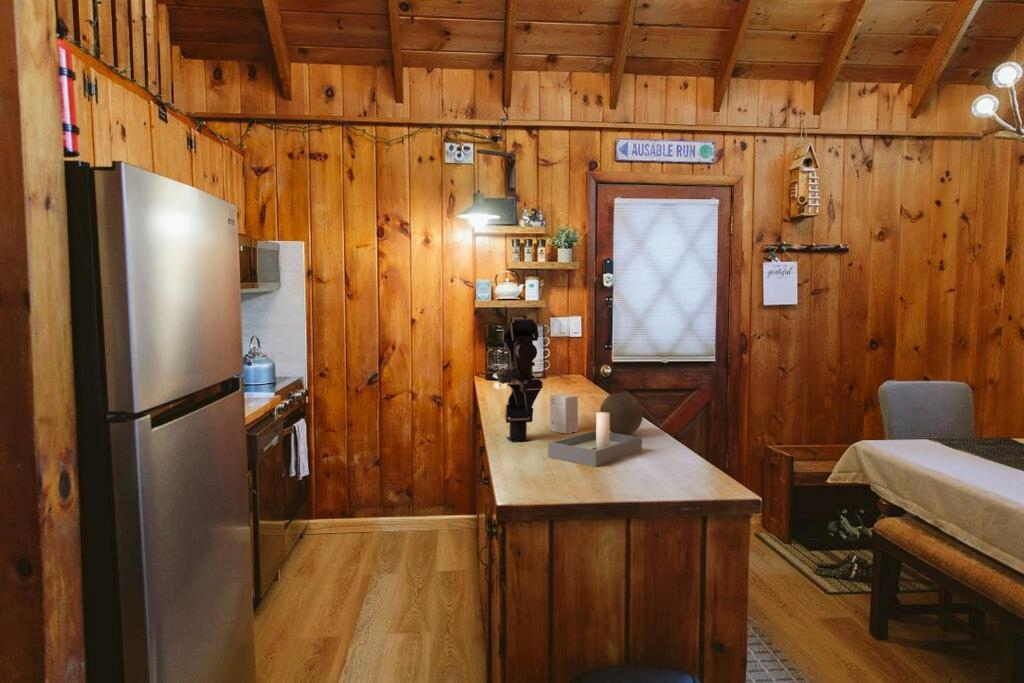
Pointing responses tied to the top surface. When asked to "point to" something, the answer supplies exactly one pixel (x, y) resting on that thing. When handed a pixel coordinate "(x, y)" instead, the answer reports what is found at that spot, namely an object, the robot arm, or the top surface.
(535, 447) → the top surface
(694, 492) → the top surface
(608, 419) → the peg
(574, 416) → the small box
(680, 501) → the top surface
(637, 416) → the brown ball
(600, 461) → the tray
